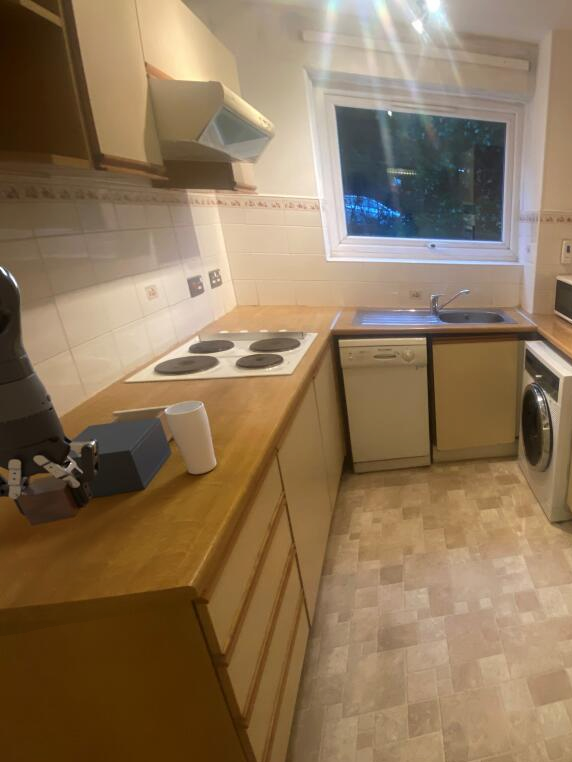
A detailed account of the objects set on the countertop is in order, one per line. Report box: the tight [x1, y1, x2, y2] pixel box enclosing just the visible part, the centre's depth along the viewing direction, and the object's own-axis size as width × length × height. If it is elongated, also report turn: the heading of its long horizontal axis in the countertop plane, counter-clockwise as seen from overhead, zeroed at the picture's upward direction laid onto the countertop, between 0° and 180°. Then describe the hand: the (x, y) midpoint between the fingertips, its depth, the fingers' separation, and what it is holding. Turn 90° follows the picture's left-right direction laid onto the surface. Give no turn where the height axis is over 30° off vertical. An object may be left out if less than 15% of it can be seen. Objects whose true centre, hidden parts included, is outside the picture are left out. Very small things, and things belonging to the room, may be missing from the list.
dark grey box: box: [61, 418, 172, 499], centre depth 91 cm, size 15×13×9 cm
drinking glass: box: [164, 400, 218, 475], centre depth 92 cm, size 7×7×15 cm
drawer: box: [105, 404, 173, 443], centre depth 101 cm, size 18×12×7 cm, turn 19°
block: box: [17, 475, 82, 527], centre depth 65 cm, size 5×5×5 cm
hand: (60, 508), depth 66 cm, fingers closed on block, 5 cm apart
